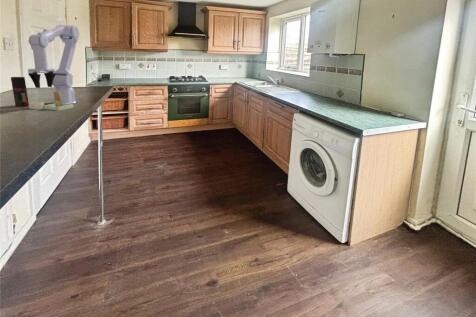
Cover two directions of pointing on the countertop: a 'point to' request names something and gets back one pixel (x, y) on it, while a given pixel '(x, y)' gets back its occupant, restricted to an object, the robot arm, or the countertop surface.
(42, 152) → the countertop surface
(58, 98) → the dowel
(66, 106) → the tray
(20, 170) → the countertop surface
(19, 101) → the deodorant
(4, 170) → the countertop surface
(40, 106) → the white octagonal bowl
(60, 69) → the robot arm
